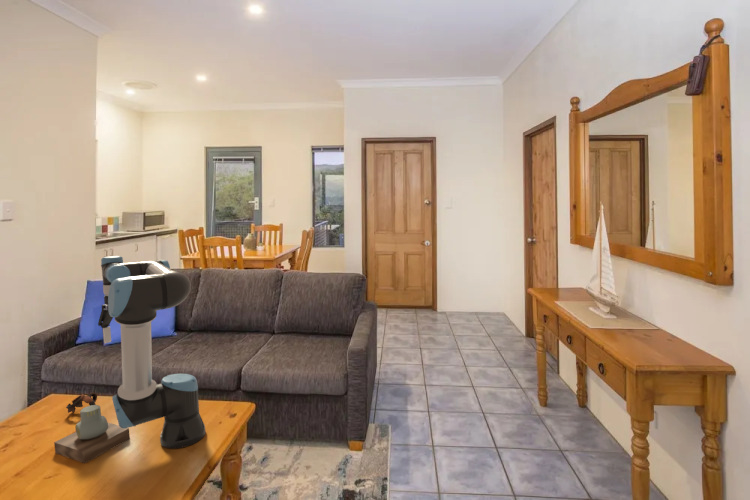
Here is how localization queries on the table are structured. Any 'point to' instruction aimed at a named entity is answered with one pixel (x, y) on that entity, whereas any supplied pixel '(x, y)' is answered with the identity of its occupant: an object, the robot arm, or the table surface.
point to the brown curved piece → (78, 401)
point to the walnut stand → (91, 444)
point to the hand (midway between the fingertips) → (118, 344)
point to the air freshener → (91, 423)
